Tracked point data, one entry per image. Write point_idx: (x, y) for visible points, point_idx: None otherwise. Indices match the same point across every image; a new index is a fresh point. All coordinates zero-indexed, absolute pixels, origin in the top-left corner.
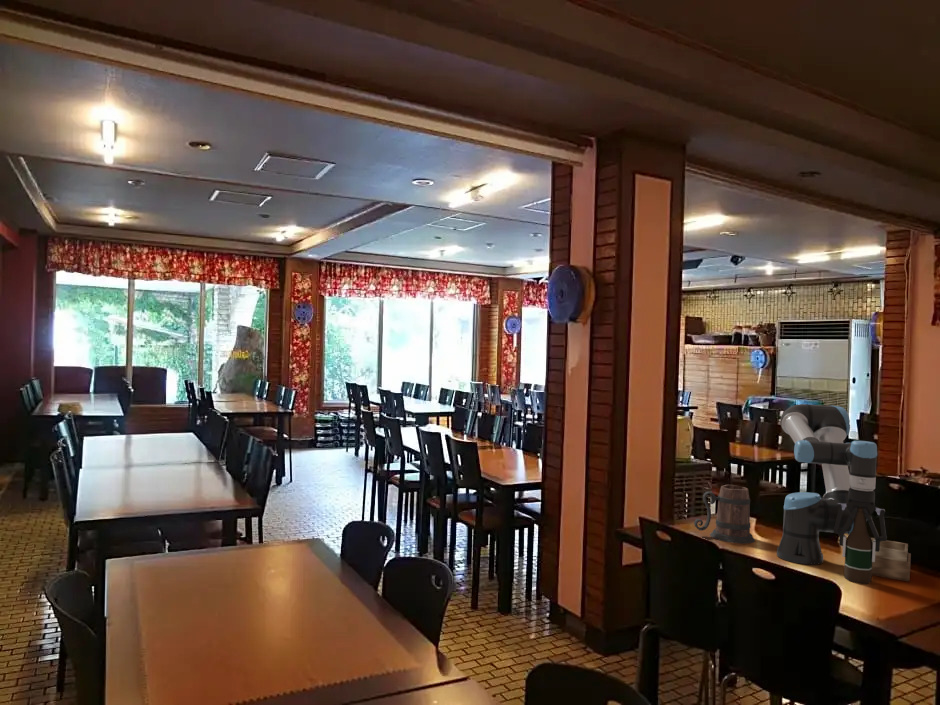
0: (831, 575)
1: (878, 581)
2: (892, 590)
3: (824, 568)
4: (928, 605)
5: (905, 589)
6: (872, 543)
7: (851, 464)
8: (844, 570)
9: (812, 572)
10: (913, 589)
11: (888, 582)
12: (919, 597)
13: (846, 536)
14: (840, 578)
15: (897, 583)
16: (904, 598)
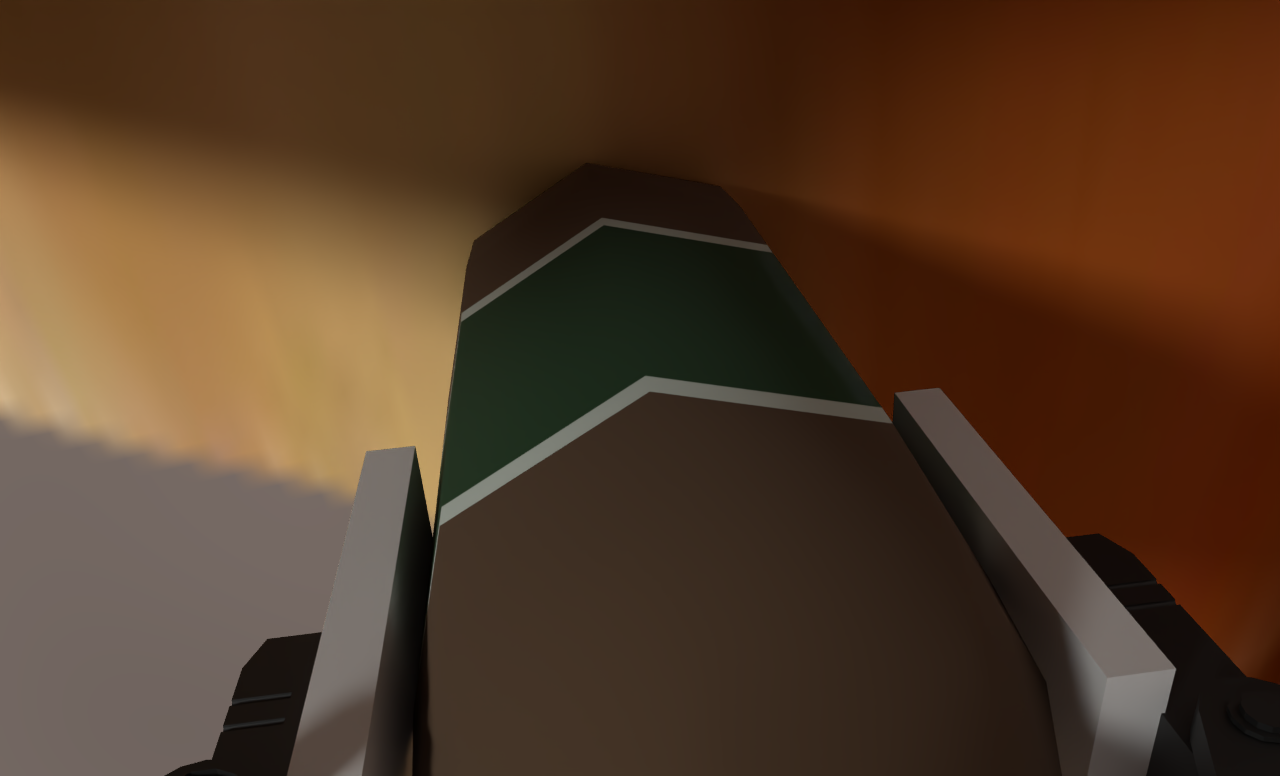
0: (279, 348)
1: (874, 141)
2: (1014, 425)
3: (42, 11)
4: (1276, 645)
5: (1172, 262)
6: (1038, 678)
7: None
8: (447, 409)
9: (27, 403)
10: (1274, 182)
11: (1003, 80)
12: (1259, 463)
13: (364, 756)
14: (417, 398)
15: (1120, 31)
16: None
